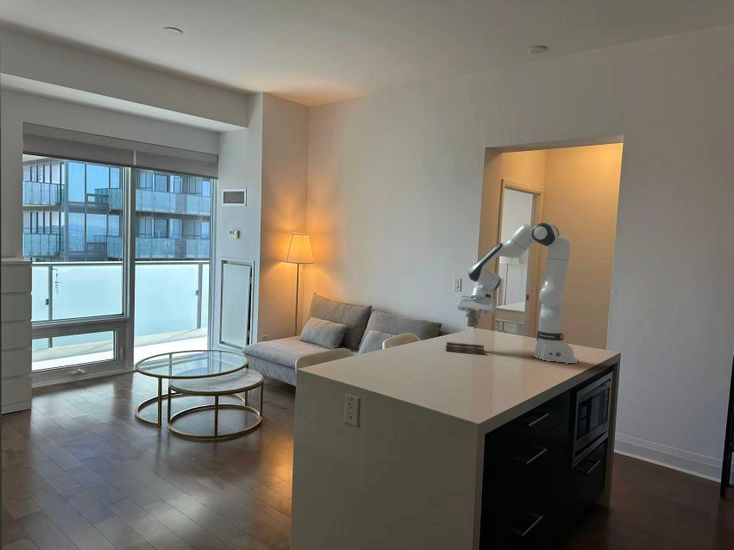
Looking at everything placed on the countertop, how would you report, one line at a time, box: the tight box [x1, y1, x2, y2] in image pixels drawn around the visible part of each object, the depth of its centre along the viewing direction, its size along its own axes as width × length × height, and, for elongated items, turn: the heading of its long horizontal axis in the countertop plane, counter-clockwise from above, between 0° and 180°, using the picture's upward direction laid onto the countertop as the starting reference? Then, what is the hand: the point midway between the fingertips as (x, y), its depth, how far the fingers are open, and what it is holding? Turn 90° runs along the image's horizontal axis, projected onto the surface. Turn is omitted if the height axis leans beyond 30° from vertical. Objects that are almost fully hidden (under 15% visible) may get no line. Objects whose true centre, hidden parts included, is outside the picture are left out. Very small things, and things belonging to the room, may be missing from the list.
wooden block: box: [466, 308, 480, 329], centre depth 295 cm, size 6×3×10 cm, turn 67°
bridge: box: [445, 341, 485, 355], centre depth 290 cm, size 20×10×3 cm, turn 79°
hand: (473, 317), depth 295 cm, fingers closed on wooden block, 5 cm apart
